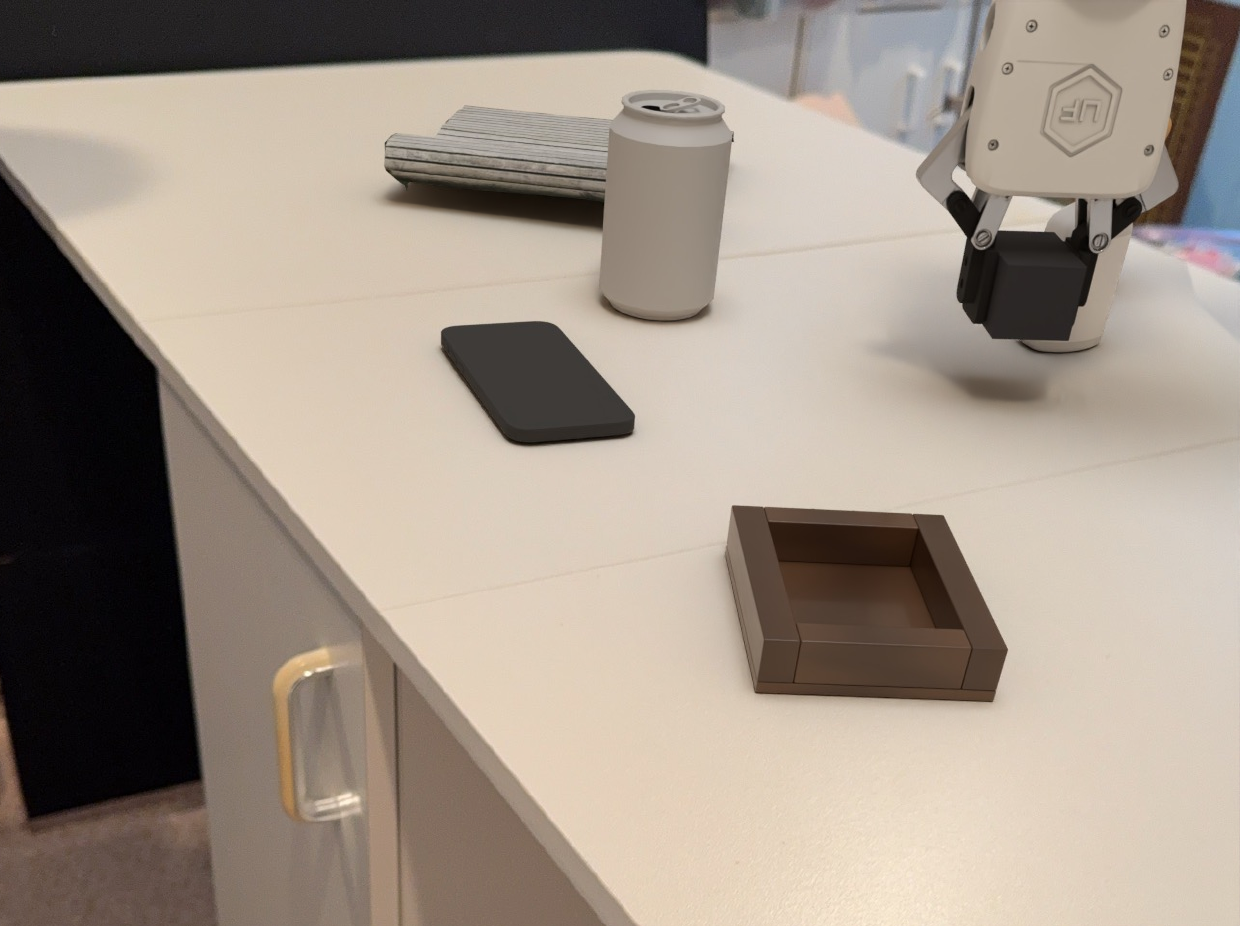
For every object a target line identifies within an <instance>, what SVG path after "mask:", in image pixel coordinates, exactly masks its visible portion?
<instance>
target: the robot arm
mask: <svg viewBox="0 0 1240 926" xmlns="http://www.w3.org/2000/svg"><path fill="white" fill-rule="evenodd" d="M1186 12H1187V0H991V2H990V6H989V9H988V12H987V15H986V18H985V21H984V24H983V28H982V31H981V34H980V37H979V40H978V44H977V48H976V51H975V55H974V58H973V62H972V66H971V68H970V69H971V70H970V72H969V76H968V81H967V84H966V87H965V88H966V89H965V93H964V97H963V101H962V106H961V110H960V114H959V117H958V119H957V121H955V123H954V124H953V125H952V126H951V128H950V129H949V130H948V131H947V132H946V134H945V135H943V137H942V138H941V140H940V141H939V142H938V143H937V144H936V145H935V146H934V148H933V149H932V151H931V152H929V154H928V155H927V156H926V158H925V159H924V160H923V161H922V162H921V164H920V165H919V166H918V167H917V169H916V171H915V178H916V180H917V182H918V183H919V184H920V186H921V187H922V189H924V190H925V191H926V192H927V193H928V194H929V195H930V196H931V197H933V199H935V200H936V201H937V203H938V204H940V205H941V206H942V207H943V208H944V209H945V210H946V211H947V212H948V213H949V214H950V216H951V217H952V219H953V220H954V221H955V223H956V224H957V225H958V227H959V229H960V230H961V231H962V232H963V234H964V236H965V237H966V239H965V244H964V249H963V254H962V255H963V256H962V259H961V266H960V269H959V275H958V279H957V280H958V281H957V285H956V300H957V302H958V303H959V304H961V309H962V310H963V312H964V313H965V315H966V316H967V318H968V319H969V321H970V322H971V324H972V325H982V324H983V322H985V321H986V319H987V314H988V309H989V304H990V300H991V295H992V290H993V285H994V280H995V276H996V271H997V266H998V261H999V255H1000V252H999V251H998V250H997V248H996V247H995V244H996V239H997V236H996V234H997V232H998V230H1000V228H1001V225H1002V223H1003V220H1004V218H1005V216H1006V213H1007V211H1008V208H1009V206H1010V203H1011V202H1012V200H1013V197H1027V198H1028V197H1029V198H1058V199H1059V198H1061V199H1075V201H1074V202H1075V229H1074V230H1073V231H1072V235H1071V237H1066V239H1065V241H1063V242H1064V243H1065V244H1066V245H1067V246H1068V248H1069V249H1070V250H1071V251H1072V252H1073V253H1074V254H1075V255H1076V256H1077V257H1078V258H1079V259H1080V260H1081V261H1082V262H1083V263H1084V264H1085V266H1086V267H1087V269H1086V273H1085V277H1084V281H1083V285H1082V290H1081V294H1080V298H1079V302H1078V306H1077V310H1076V314H1075V318H1074V322H1073V325H1074V323H1075V319H1076V315H1077V311H1078V307H1083V306H1084V305H1085V304H1086V302H1087V298H1088V294H1089V290H1090V286H1091V282H1092V278H1093V274H1094V271H1095V267H1096V263H1097V259H1098V255H1099V253H1102V252H1104V251H1105V250H1107V248H1108V247H1109V245H1110V243H1111V240H1112V239H1113V238H1115V237H1116V236H1117V235H1118V234H1119V233H1121V232H1122V231H1123V230H1124V229H1125V228H1127V227H1128V226H1129V225H1130V224H1132V223H1133V224H1134V222H1135V221H1137V219H1138V218H1139V217H1141V214H1143V213H1144V212H1148V211H1150V210H1151V209H1153V208H1154V207H1157V206H1158V205H1159V204H1161V203H1163V202H1164V201H1166V200H1168V199H1169V198H1171V197H1172V196H1173V195H1175V194H1176V193H1177V191H1178V189H1179V187H1180V183H1179V179H1178V176H1177V174H1176V170H1175V168H1174V166H1173V165H1174V164H1173V162H1172V160H1171V157H1170V154H1169V152H1168V148H1167V146H1166V143H1165V142H1166V139H1165V137H1166V133H1167V128H1168V123H1169V118H1170V119H1171V111H1172V108H1173V102H1174V96H1175V91H1176V85H1177V79H1178V74H1179V73H1178V72H1179V67H1180V62H1181V61H1180V60H1181V53H1182V45H1183V37H1184V30H1185V23H1186V14H1187V13H1186ZM1166 138H1167V137H1166ZM957 167H959V168H960V169H961V170H963V171H964V172H965V173H966V177H968V178H969V179H970V181H971V183H972V185H974V186H975V189H974V191H973V192H972V193H973V194H972V196H971V198H970V196H969V195H968V194H967V193H966V192H965V190H963V188H962V187H960V186H959V184H958V183H956V181H954V180H953V172H954V171H955V169H956V168H957Z"/></svg>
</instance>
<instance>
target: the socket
mask: <svg viewBox="0 0 1240 926" xmlns="http://www.w3.org/2000/svg"><path fill="white" fill-rule="evenodd" d="M728 523H729V524H728V529H727V539H726V546H725V552H724V553H725V554H724V555H725V558H726V563H727V569H728V573H729V578H730V581H731V582H730V583H731V586H732V591H733V596H734V600H735V605H736V609H737V613H738V617H739V623H740V627H741V631H742V637H743V640H744V646H745V649H746V654H747V659H748V663H749V668H750V674H751V677H752V682H753V687H754V691H755V693H767V694H791V695H796V694H797V695H818V696H819V695H820V696H844V697H845V696H846V697H848V696H849V697H872V698H874V697H875V698H900V699H901V698H902V699H928V700H929V699H930V700H952V701H953V700H956V701H983V702H993V701H994V700H995V697H996V695H997V689H998V686H999V683H1000V680H1001V675H1002V672H1003V669H1004V665H1005V663H1006V658H1007V654H1008V652H1009V648H1008V646H1007V644H1006V642H1005V640H1004V638H1003V636H1002V633H1001V632H1000V629H999V627H998V625H997V623H996V620H995V619H994V617H993V615H992V612H991V611H990V609H989V607H988V604H987V602H986V600H985V598H984V596H983V594H982V592H981V590H980V588H979V586H978V583H977V581H976V580H975V578H974V576H973V573H972V571H971V569H970V567H969V565H968V563H967V561H966V559H965V557H964V554H963V553H962V550H961V549H960V546H959V544H958V542H957V540H956V537H955V535H954V534H953V532H952V530H951V527H950V525H949V523H948V522H947V519H946V517H945V515H943V514H929V513H909V512H888V511H867V510H865V511H864V510H846V509H845V510H844V509H843V510H842V509H823V508H822V509H821V508H803V507H802V508H801V507H800V508H799V507H781V506H780V507H778V506H760V505H757V506H756V505H738V504H737V505H736V504H733V505H731V508H730V516H729V522H728Z"/></svg>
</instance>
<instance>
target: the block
mask: <svg viewBox="0 0 1240 926" xmlns="http://www.w3.org/2000/svg"><path fill="white" fill-rule="evenodd" d="M996 236H997V239H996V244H995V247H996V248H997V250H998V251H999V252H1000V255H999V261H998V266H997V271H996V276H995V280H994V285H993V290H992V295H991V300H990V304H989V309H988V314H987V319H986V321H985V322H983V324H981V325H982V326H983V328H984V329H985V331H986V332H987V334H988V336H989V337H990V338H991V339H992V340H1014V341H1017V340H1018V341H1020V340H1049V341H1069V338H1070V334H1071V330H1072V326H1073V322H1074V318H1075V314H1076V310H1077V306H1078V302H1079V298H1080V294H1081V290H1082V285H1083V281H1084V277H1085V273H1086V269H1087V267H1086V266H1085V264H1084V263H1083V262H1082V261H1081V260H1080V259H1079V258H1078V257H1077V256H1076V255H1075V254H1074V253H1073V252H1072V251H1071V250H1070V249H1069V248H1068V246H1067V245H1066V244H1065V243H1064V242H1063V241H1062V240H1061V239H1060V238H1059V237H1058V235H1057V234H1056V233H1055V232H1044V231H1033V230H1032V231H1031V230H1002V229H1001V230H1000V229H999V230H998V232H997V234H996Z"/></svg>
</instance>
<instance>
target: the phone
mask: <svg viewBox="0 0 1240 926" xmlns="http://www.w3.org/2000/svg"><path fill="white" fill-rule="evenodd" d="M440 345H441V347H442V349H443V350H444V351H445V352H446V354H447V355H448V357H449V358H450V360H451V361H452V362H453V364H454V365H455V366H456V368H457V369H458V371H459V372H460V373H461V375H462V377H463V378H464V379H465V381H466V382H467V383H468V385H469V386H470V388H471V389H472V390H473V392H474V393H475V395H476V396H477V397H478V399H479V401H480V402H481V404H483V407H485V409H486V410H487V412H488V413H489V414H490V416H491V417H492V419H493V420H494V422H495V423H496V424H497V426H498V427H499V429H500V430H501V432H502V433H503V434H504V435H505V436H506V437H508V438H509V440H513V441H516V442H519V443H540V442H541V443H542V442H551V441H552V442H553V441H565V440H575V439H576V440H578V439H587V438H588V439H589V438H599V437H611V436H621V435H626V434H629V433H631V432H633V431H634V429H635V424H636V423H635V422H636V413H635V412H634V411H633V410H632V409H631V408H630V406H629V405H628V404H627V403H626V402H625V401H624V400H623V399H622V397H621V396H620V395H619V394H618V393H617V391H616V390H615V389H614V388H613V387H612V386H611V384H609V382H608V381H606V380H607V379H605V378H604V377H603V376H602V374H601V373H600V372H599V371H598V370H597V369H596V368H595V366H594V365H593V364H591V362H590V361H589V360H588V358H586V356H585V355H584V354H583V353H582V352H581V351H580V350H579V348H578V347H577V346H576V345H575V344H574V343H573V342H572V340H571V339H570V338H569V337H568V336H567V335H566V334H565V333H564V331H563V330H562V329H561V328H560V327H559V326H558V325H557V324H554V323H553V322H549V321H545V320H543V321H542V320H530V321H528V320H527V321H510V322H509V321H508V322H495V323H493V322H492V323H478V324H477V323H475V324H460V325H450V326H447V327H444V328H443V329H442V330H441V331H440Z"/></svg>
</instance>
